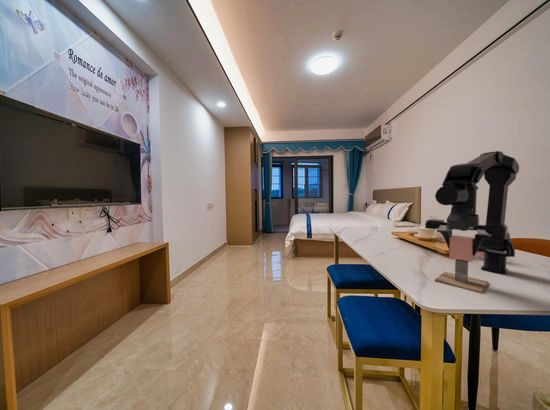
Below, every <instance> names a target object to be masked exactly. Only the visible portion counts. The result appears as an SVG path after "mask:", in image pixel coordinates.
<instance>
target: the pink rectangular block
mask: <svg viewBox="0 0 550 410" xmlns="http://www.w3.org/2000/svg"><path fill="white" fill-rule="evenodd" d="M474 242H475V237H474V236H466V235H465V236H463V235H456V234H454V235H452V237H450V251H449V253H448V255H449V257H448V258H450V259H455V260H456V259H459V260H464V261H468V262H472V261H474V260H475V259H476V258H475V256H473V247H474Z"/></svg>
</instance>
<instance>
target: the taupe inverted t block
mask: <svg viewBox="0 0 550 410" xmlns="http://www.w3.org/2000/svg"><path fill="white" fill-rule="evenodd" d="M454 263H455V264H454V265H455V266H454V268H455V269H454V273H452V272H447V271H444V272H443V273H441V274H440V275H439V276H438V277H435V278H434V282H437V283H442V284H445V285H449V286H451V287H452V286H453V287H456V288H461V289H464V290H468V291H473V292H476V293H480V294H482V293H483V292H484V291H485V289H486V288H487V286H488V285H489V281H488V280H483V279H479V278H473V277H470V276H468V275H469V261H464V260H459V259H455V260H454Z"/></svg>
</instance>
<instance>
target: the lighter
mask: <svg viewBox="0 0 550 410" xmlns="http://www.w3.org/2000/svg"><path fill="white" fill-rule="evenodd" d="M473 237H475V235H474V236H473ZM475 259H477V260H480V261H483V262H484V252H478V251H477V253H476V255H475Z"/></svg>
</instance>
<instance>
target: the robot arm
mask: <svg viewBox="0 0 550 410" xmlns="http://www.w3.org/2000/svg"><path fill="white" fill-rule="evenodd" d="M519 171H520V165H519V162H518V161H517V160H516V159H515V157H512V156H509V155H505V154H504V152H503V151H500V150H496V151H488V152H484V153H481V154H480V155H479V156H477V157H475V158H474V159H472V160H470V161H468V162H466V163H459V164H454V165H451V166H450V167H449V169H448V171H447V173H446V175H445V177H444V179H443V181H442V184H441V185H442V186H441V187H439V188H438V189H437V190H436V192H435V195H434V198H435V200H436V201H437V203H439V204H440V205H442V206H451V209H450V212H449V215H448V216H447V218H446V222H445V220H444V219H436V218H432V219H431V218H430V219H427V220H426V221H425V223H424V224H425V225H424V226H425V227H424V229H431V230H436V232H437V233H440V234H441V235H442V237H443V238H444V240H445V243H446V245H447V247H448V250H449V251H450V237H452V236H453V230H456V231H457V230H458V231H462V232H467V231H476V232H477V233H475V235H474V236H475V242H474V247H473V256H475V255H476V253H477V251H478V252H484V261H483V265H482V266H481V267H480V270H483V271H487V272H493V273H498V274H503V275H508V272H509V268H507V259H508V258H510V257H511V258H515V257H516V249H515V246H514V243H513V242H512V240H511V235H510V233H509V231H508V226H509V225H506V224H505V222H506V213H507V201H508V191H509V187H510V185H512V183H513V182H514V181H515V180H516V179H517V174H518V173H519ZM482 178H484V180H485V181H486V183H487V185H489V189H488V197H487V198H488V200H487V208H486V209H487V210H486V218H485V220H486V221H485V224H480V217H479V214H477V193H478V190H479V187H478V185H477V184H478V183H480V181H481V179H482Z"/></svg>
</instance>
